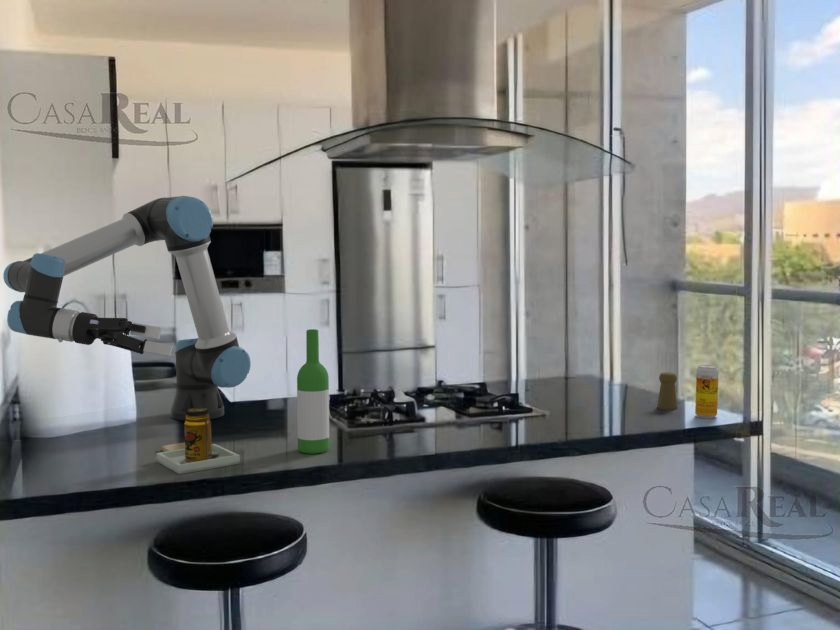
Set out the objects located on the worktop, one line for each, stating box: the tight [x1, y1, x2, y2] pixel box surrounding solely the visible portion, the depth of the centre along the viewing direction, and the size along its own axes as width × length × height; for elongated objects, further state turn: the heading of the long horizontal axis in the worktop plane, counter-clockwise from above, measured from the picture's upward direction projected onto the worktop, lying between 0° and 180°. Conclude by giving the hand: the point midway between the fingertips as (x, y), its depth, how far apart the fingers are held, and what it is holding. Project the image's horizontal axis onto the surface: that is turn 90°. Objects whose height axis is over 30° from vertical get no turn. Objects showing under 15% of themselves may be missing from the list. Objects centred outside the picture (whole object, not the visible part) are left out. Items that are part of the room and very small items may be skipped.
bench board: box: [160, 442, 185, 452], centre depth 208 cm, size 9×8×2 cm
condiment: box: [181, 408, 220, 463], centre depth 198 cm, size 7×8×12 cm
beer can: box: [694, 364, 720, 419], centre depth 248 cm, size 6×6×15 cm
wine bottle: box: [296, 328, 330, 455], centre depth 207 cm, size 8×8×30 cm
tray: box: [156, 443, 241, 475], centre depth 197 cm, size 15×14×2 cm
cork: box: [656, 371, 678, 411], centre depth 261 cm, size 6×6×11 cm
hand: (166, 342), depth 202 cm, fingers open, 13 cm apart
